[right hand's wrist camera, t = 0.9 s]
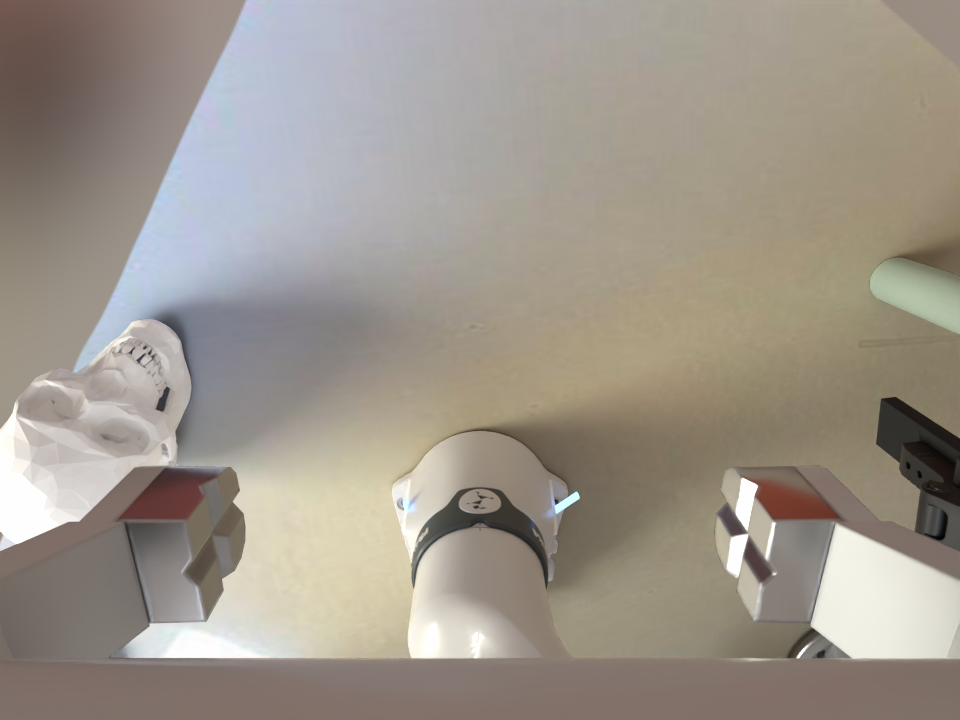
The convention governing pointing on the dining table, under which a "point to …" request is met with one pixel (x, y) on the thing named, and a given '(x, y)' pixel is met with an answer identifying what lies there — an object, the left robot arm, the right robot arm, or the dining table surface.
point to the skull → (90, 430)
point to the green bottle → (919, 291)
